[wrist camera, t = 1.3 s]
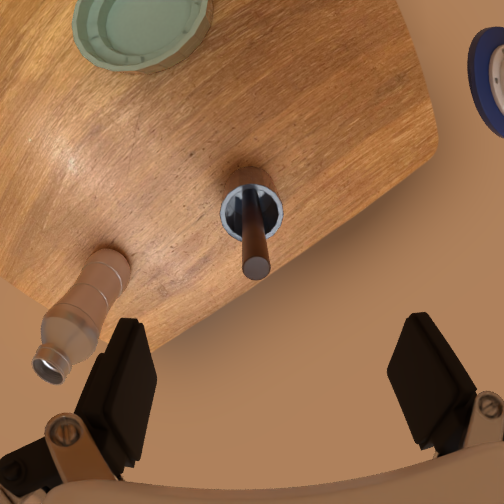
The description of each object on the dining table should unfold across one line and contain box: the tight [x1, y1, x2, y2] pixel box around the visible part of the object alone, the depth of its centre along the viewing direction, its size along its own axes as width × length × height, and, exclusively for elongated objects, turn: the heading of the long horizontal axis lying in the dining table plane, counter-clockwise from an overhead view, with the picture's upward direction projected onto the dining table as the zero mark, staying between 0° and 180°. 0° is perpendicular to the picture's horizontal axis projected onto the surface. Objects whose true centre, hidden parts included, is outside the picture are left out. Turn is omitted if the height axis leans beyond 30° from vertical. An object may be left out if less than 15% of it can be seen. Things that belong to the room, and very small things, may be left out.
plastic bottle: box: [32, 249, 131, 385], centre depth 31 cm, size 6×7×20 cm
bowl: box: [72, 0, 213, 75], centre depth 24 cm, size 14×14×6 cm
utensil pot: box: [220, 166, 284, 242], centre depth 33 cm, size 6×6×8 cm
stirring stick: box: [242, 189, 271, 280], centre depth 27 cm, size 2×2×16 cm
